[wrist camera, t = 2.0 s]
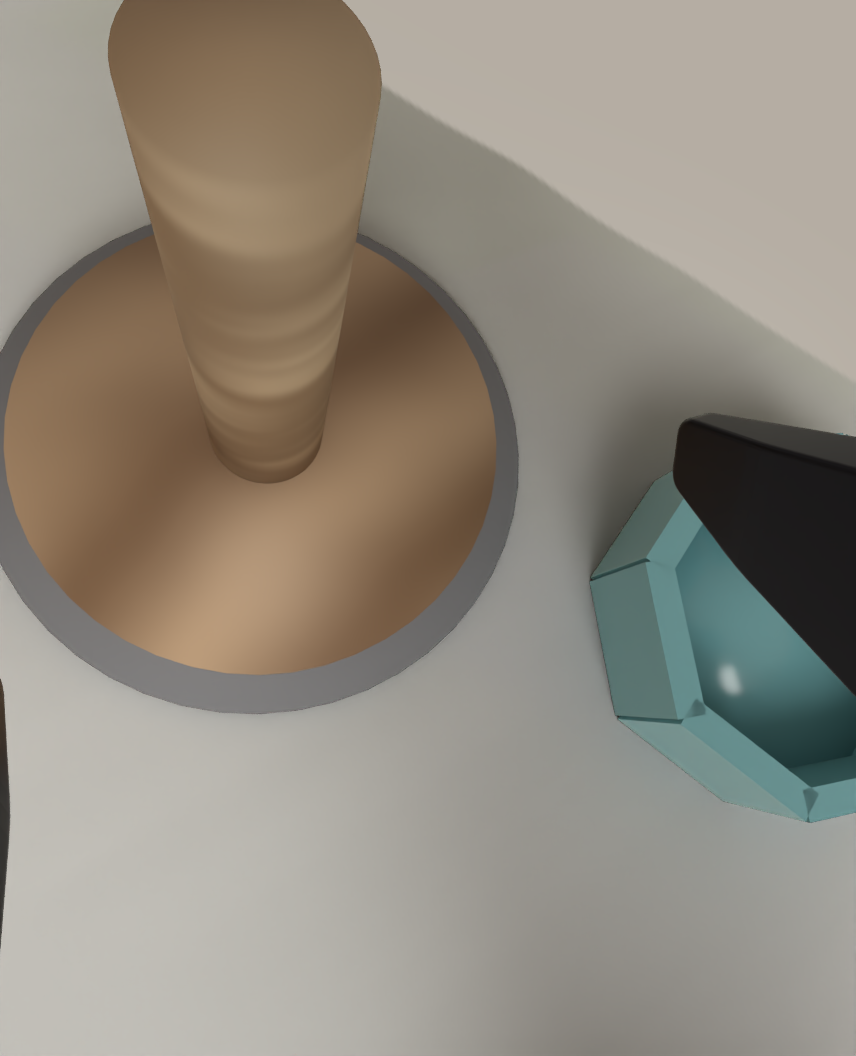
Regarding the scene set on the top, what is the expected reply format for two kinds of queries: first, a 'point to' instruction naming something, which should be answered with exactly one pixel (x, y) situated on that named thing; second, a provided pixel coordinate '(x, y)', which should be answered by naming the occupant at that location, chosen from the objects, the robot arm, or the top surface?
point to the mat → (242, 692)
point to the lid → (249, 365)
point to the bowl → (719, 670)
